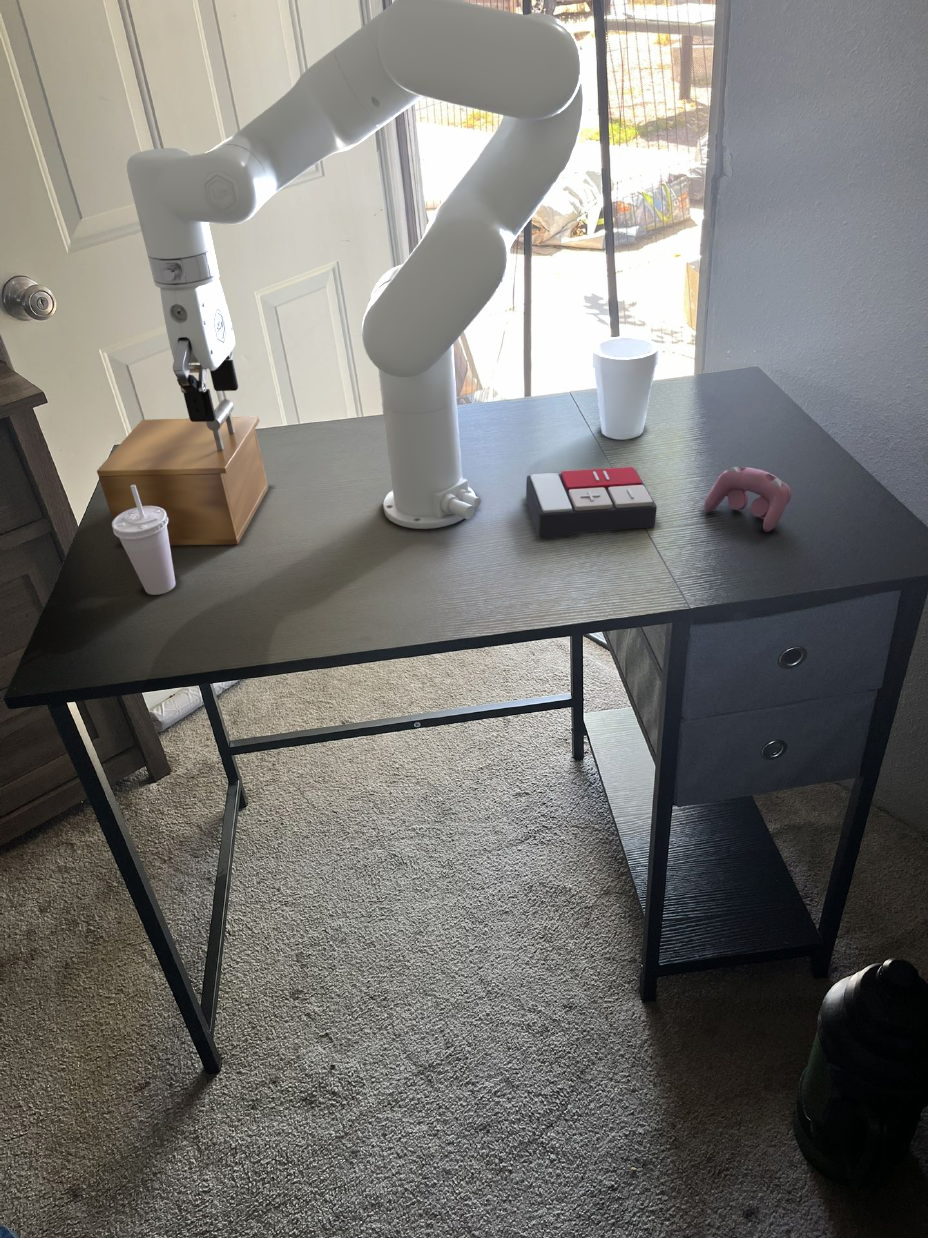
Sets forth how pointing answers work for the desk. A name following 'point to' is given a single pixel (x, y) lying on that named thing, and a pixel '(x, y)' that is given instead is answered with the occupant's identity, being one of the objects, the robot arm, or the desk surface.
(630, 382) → the foam cup
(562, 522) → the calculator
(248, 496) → the box
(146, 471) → the box lid
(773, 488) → the video game controller
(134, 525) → the smoothie
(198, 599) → the desk surface
